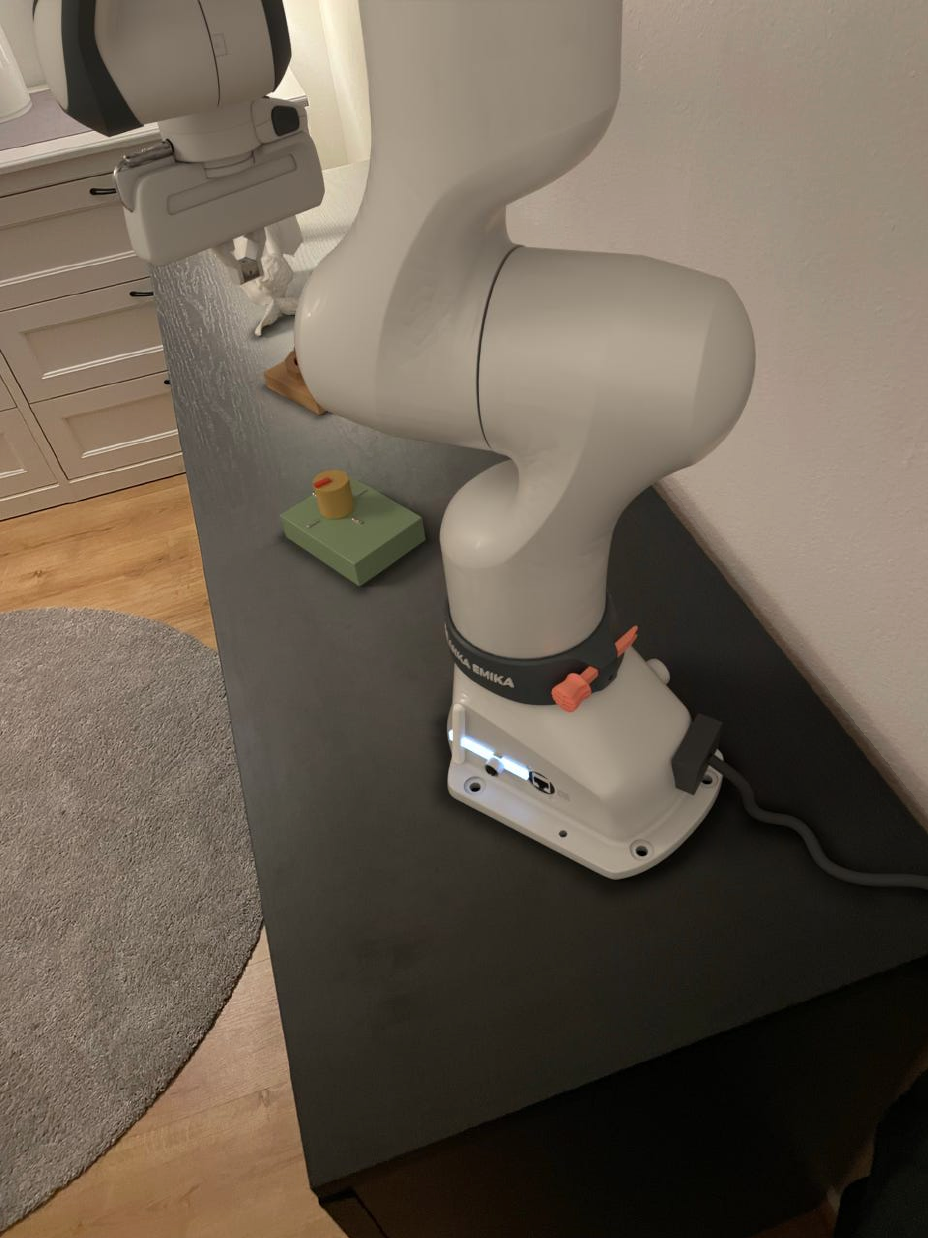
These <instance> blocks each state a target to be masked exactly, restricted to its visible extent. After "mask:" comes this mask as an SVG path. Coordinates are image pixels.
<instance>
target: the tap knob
mask: <svg viewBox="0 0 928 1238" xmlns="http://www.w3.org/2000/svg"><path fill="white" fill-rule="evenodd" d="M347 474H348V473H346V472H345V471H343V470H341V469H328V470H325V471H322V472H320V473H318V474H317V475H316V476H315V477H314V478H313V480H312V487H313V490H314V491H313V492H315V495H316V498H317V502H318V506H319V510H320V513H321V515H322V516H324V517H326V518H329V519H339V518H342V517H345V516H347V515H349V514H350V513H351V512H352V511H353V509H354V506H355V504H354V500H353V495H352V491H351V486H350V482H349V478H348V475H349V474H348V475H347Z"/></svg>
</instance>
